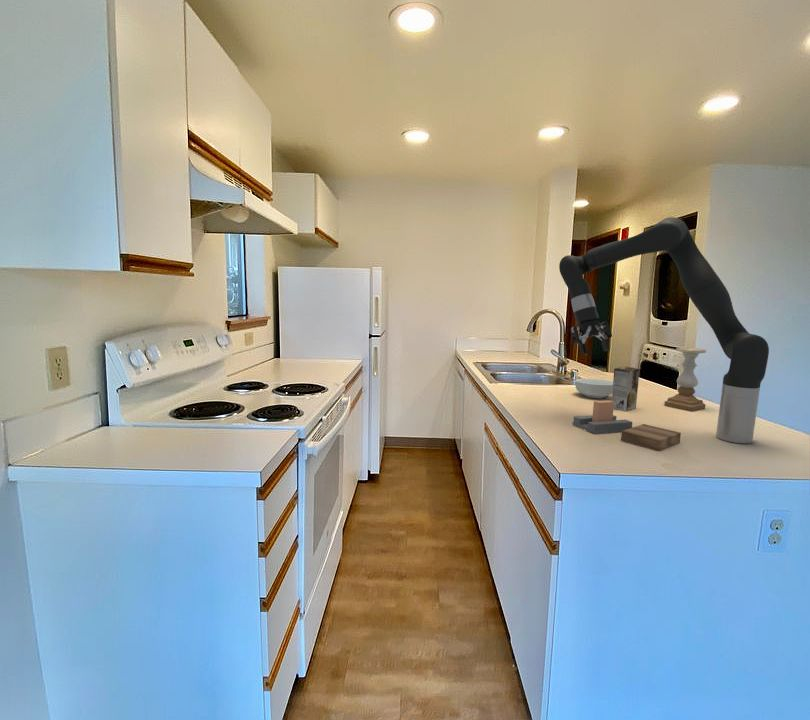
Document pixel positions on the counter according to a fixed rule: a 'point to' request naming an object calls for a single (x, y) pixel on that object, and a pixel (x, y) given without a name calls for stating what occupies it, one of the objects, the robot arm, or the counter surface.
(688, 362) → the candle holder
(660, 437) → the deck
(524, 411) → the counter surface
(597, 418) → the tile
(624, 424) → the rack
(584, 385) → the cereal bowl
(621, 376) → the coffee box
